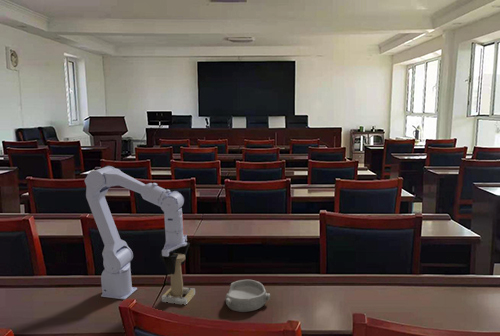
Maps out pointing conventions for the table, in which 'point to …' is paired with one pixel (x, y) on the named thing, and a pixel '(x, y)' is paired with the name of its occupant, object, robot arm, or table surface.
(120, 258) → the robot arm
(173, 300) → the square frame
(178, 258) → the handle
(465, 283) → the table surface
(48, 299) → the table surface
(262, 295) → the dish
